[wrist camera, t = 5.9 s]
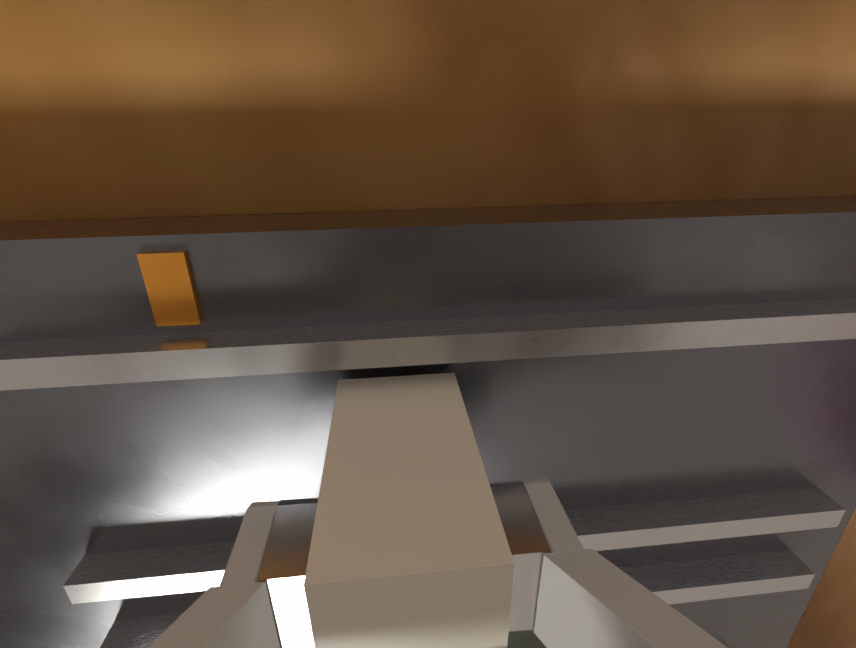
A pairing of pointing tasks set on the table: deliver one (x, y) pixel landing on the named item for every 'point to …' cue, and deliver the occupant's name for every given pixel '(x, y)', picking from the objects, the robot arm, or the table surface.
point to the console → (417, 355)
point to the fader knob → (406, 524)
